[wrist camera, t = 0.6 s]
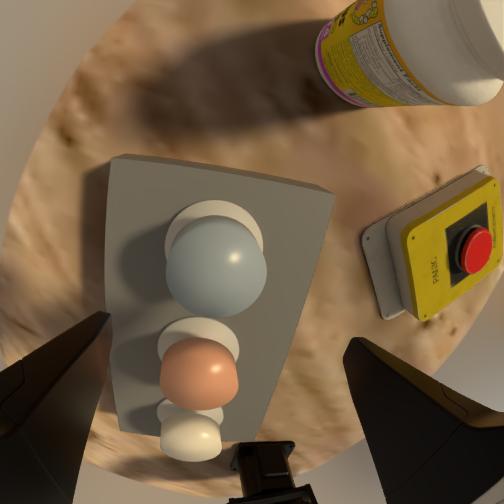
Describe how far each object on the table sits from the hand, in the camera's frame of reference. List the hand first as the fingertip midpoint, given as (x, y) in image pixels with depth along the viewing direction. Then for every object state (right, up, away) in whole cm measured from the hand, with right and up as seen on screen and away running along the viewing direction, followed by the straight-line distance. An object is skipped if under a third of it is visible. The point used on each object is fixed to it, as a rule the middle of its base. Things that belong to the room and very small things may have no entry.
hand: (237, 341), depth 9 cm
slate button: (-1, +2, +6) cm, 6 cm away
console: (-3, -2, +12) cm, 13 cm away
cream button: (-4, -11, +11) cm, 16 cm away
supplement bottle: (+7, +15, +7) cm, 18 cm away
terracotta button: (-3, -4, +8) cm, 10 cm away
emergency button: (+16, +4, +14) cm, 22 cm away
